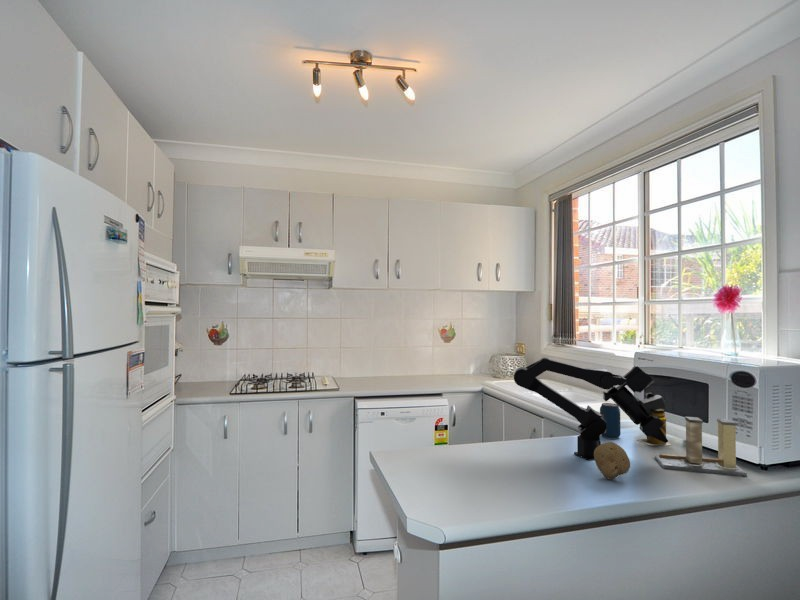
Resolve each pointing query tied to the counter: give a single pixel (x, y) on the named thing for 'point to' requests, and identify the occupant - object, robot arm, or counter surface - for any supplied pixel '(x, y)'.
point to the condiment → (661, 415)
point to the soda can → (611, 420)
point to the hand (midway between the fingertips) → (666, 441)
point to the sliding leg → (694, 439)
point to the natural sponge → (611, 460)
